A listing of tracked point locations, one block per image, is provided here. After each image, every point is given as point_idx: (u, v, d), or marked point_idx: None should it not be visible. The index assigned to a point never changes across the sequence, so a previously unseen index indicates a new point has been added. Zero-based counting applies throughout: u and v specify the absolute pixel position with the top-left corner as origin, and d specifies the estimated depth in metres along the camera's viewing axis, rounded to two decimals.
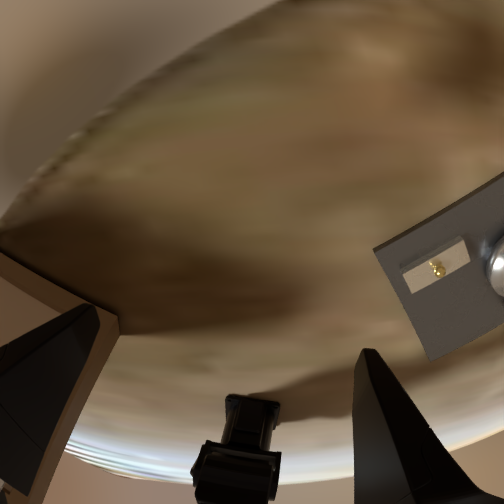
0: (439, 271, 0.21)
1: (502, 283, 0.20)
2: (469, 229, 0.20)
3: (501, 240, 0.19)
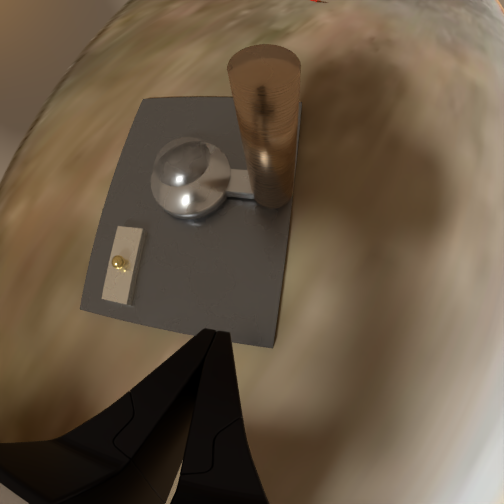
0: (112, 261, 0.21)
1: (190, 200, 0.22)
2: (125, 218, 0.24)
3: None
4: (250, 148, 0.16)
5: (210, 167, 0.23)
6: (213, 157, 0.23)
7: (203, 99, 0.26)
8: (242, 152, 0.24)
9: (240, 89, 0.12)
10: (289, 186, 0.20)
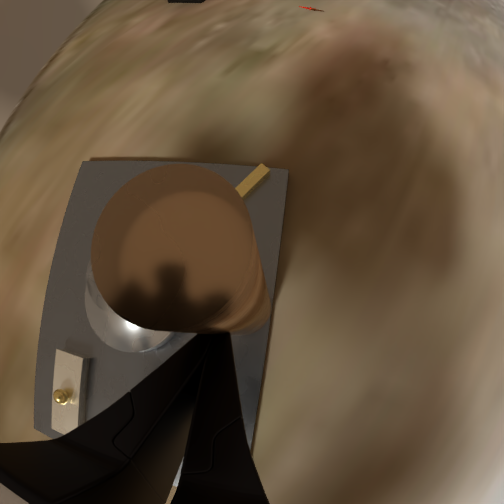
0: (54, 396, 0.15)
1: (135, 334, 0.16)
2: (65, 334, 0.17)
3: None
4: None
5: None
6: None
7: (154, 165, 0.20)
8: None
9: (122, 313, 0.05)
10: (263, 321, 0.14)
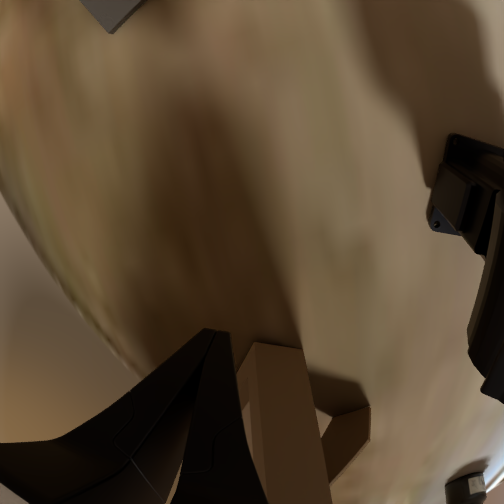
0: None
1: None
2: None
3: None
4: None
5: None
6: None
7: None
8: None
9: None
10: None
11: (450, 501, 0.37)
